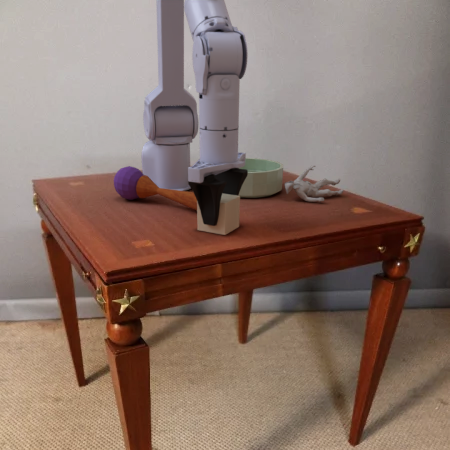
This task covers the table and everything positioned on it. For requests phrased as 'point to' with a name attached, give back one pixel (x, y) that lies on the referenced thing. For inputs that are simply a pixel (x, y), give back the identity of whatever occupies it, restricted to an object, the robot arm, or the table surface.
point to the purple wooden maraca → (147, 188)
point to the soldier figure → (311, 188)
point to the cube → (223, 216)
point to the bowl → (261, 178)
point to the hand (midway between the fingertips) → (218, 219)
